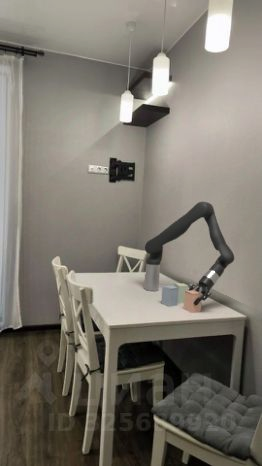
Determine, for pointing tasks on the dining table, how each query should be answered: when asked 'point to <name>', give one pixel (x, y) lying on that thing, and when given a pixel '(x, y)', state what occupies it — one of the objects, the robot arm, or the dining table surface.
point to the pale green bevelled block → (181, 291)
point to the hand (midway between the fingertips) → (190, 302)
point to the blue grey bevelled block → (169, 295)
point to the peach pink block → (192, 301)
